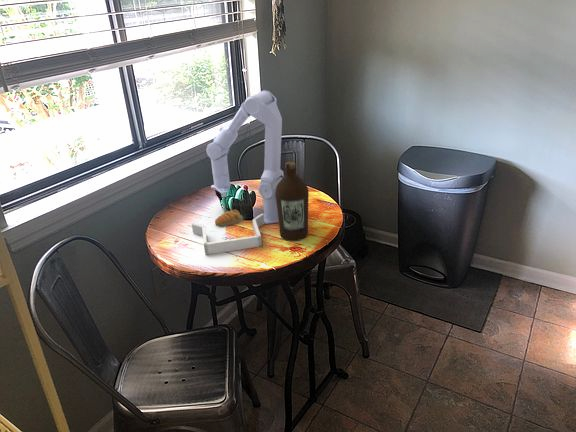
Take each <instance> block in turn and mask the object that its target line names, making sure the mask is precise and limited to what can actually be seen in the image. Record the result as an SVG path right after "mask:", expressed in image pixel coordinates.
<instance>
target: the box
mask: <svg viewBox="0 0 576 432" xmlns="http://www.w3.org/2000/svg"><path fill="white" fill-rule="evenodd" d="M264 224H265V222H264V214H262V213H260V214H258V215H257V216H256V217H253V219H252V229H253V232H254V235H250V236H245V237H239V238H232V239H225V240H224V239H223V240H219V241H218V240H217V241H211V242H208V238H207V237H208V236H207V230H206V226H205V225H202V224H198V223H192V224H191V228H192V233H193V234H194V235H197V236H200V237H203V239H202V240H203V247H204V248H203V249H204V254H205V256H206V255H211V254H218V253H225V252H231V251H233V252H234V251H238V250H244V249H252V248H257V247H259V248H260V247H263V244H262V243H263V242H262V235H261V232H260V229H259V228H260V227H261V226H263V225H264Z"/></svg>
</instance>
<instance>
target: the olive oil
mask: <svg viewBox="0 0 576 432" xmlns="http://www.w3.org/2000/svg"><path fill="white" fill-rule="evenodd" d="M284 168H285V169H284V172H285V174H284V177H283V178H282V179H281V180H280V182H279V183H278V184H277V186H276V190H275V196H276V204H277V212H278V220H279V222H278V229H279V230H278V231H279V235H280V238H282V239H283V240H285V241H289V242H296V241H301V239H302V240H304V239H305V238H307V237H308V236H309V196H310V195H309V193H310V192H309V188H308V187H309V186H308V185H307V183H306V182H305V181H304V180H303V179H302V178H301V177H300V176H299V174H297V167H296V162H294V161H287V162H285V165H284Z"/></svg>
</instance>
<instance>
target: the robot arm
mask: <svg viewBox="0 0 576 432" xmlns="http://www.w3.org/2000/svg"><path fill="white" fill-rule="evenodd" d="M277 100H278V99H277V98H276V96H274V94H273V93H272V92H270V91H269V90H261V91H260V92H258V93H256V94H253V95H250V96H248V97H247V98H246V99H245V101H243V102H242V103H241V104H240V107H239V109H238V111H237V112H236V113H235V115H234V117H233V118H232V119H231V122H230V123H229V124H226V125H224V126H221V127H220V128H219V133H218V134H217V136H214V138H213V142H211V143H208V144H207V145H206V148H205V149H206V155H207V156H208V158H209V159H210V162H211V163H210V164H211V169H212V170H211V171H212V172H211V173H212V177H213V184H212V185H210V189H212V190H213V189H214V192H215V195H216V197H217V198H218V199H219V202H220V206H221V208H222V210H223V209H224V208H223V207H222V204H221V200H222V198H223V197H227V191H228V190H229V188H230V189H231V187H230V186H231V181H230V180H231V179H230V173H229V164H228V154H229V152H230V148H231V146H232V145H233V144H234V142H235V141H236V139H237V138H238V136H239V133H238V131H239V129H240V128H241V127H242V126H243V124H245V122H246V121H247V120H248V118H249V117H253V118H254V119H256V120H257V121H259V122H261V123H262V124H263V125H264V128H265V130H264V164H263V165H264V169H263V173H262V175H261V177H260V182H259V185H258V187H257V189H258V193H259V195H260V196H261V197H262V198H261V199H262V205H263V213H261V214H264V224H266V225H268V224H274V223H279V220H278V212H277V204H276V196H275V190H276V186H277V184H278V183H279V182H280V180H281V179H282V178H283V177H284V176H285V174H284V172H285V171H283V170H282V169H281V157H282V155H281V154H282V132H283V131H282V130H283V129H282V128H283V119H282V115H281V112H280V110H279V108H278V107H279V106H278V104H277Z"/></svg>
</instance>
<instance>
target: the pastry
mask: <svg viewBox="0 0 576 432" xmlns="http://www.w3.org/2000/svg"><path fill="white" fill-rule="evenodd" d="M231 210H232V209H231ZM231 210H228V211H225V212H223V213H222V214H221V215H220V216H218V217H217V218H215V220H214V223H215V226H217V227H221V228H222V227H228V226H232V225H235V224H237V223H240V222H241V221H242V220H243V217H242V215H241V214H240V211H239V210H238V209H234V210H232V211H231Z"/></svg>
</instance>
